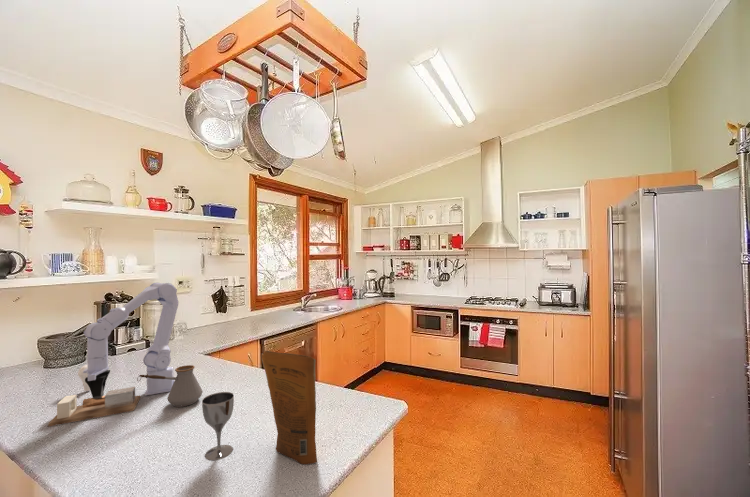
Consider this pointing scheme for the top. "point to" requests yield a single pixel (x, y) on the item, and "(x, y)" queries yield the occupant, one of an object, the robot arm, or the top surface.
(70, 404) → the cream rectangular block
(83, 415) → the walnut board
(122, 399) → the sleeve
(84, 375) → the lightbulb
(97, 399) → the brown piece
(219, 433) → the wine glass
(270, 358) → the pancake mix bag
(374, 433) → the top surface
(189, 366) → the coffee pot
